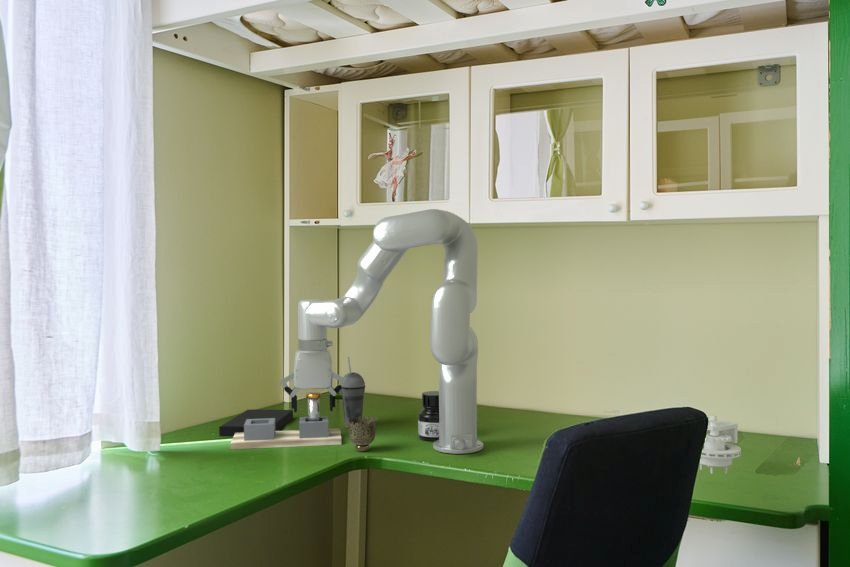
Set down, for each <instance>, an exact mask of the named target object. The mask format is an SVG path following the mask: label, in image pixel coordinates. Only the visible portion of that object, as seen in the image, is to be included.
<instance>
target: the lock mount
mask: <svg viewBox="0 0 850 567" xmlns="http://www.w3.org/2000/svg"><path fill="white" fill-rule="evenodd" d="M298 424H299V426H298V427H299V428H298V430H299V438H323V437H329V431H328V429H329V416H328V415H323V416H321V415H320V421H311V422H308V416H299V422H298Z"/></svg>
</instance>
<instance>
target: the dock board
mask: <svg viewBox="0 0 850 567" xmlns="http://www.w3.org/2000/svg"><path fill="white" fill-rule="evenodd" d="M328 431H329V437H323V438H299V429H297V430H295V429H293V430H292V429H291V430H278V431H275V437H274V440H252V441H244V432H240V433H235V434H234V436H232V439H231V441H230V444H229V445H230V446H229V447H230V448H229V449H230V450H244V449H245V450H248V449H250V450H251V449H266V448H268V449H269V448H270V449H271V448H272V449H273V448H290V447H291V448H292V447H293V448H294V447H295V448H296V447H313V446H314V447H315V446H317V447H318V446H338V445H339V446H340V445H341V446H342V435H341V434H342V433H341V429H340V428H328Z"/></svg>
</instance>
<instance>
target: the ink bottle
mask: <svg viewBox="0 0 850 567" xmlns="http://www.w3.org/2000/svg"><path fill="white" fill-rule="evenodd" d="M421 406H422V408H423V409H421V411H420V412H419V413H418V420H417V427H418V428H417V429H418V432H417V433H418V438H419V439H421V440H424V441H431V442H435V441H437V440H439V390H430V391H423V392H421Z"/></svg>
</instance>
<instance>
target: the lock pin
mask: <svg viewBox="0 0 850 567" xmlns="http://www.w3.org/2000/svg"><path fill="white" fill-rule="evenodd" d="M305 396H306V399H307V417H308V422H311V421H320V416H321V415H320V399H321V397H322V394H321V392H319V391H310V392H306V393H305Z"/></svg>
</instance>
